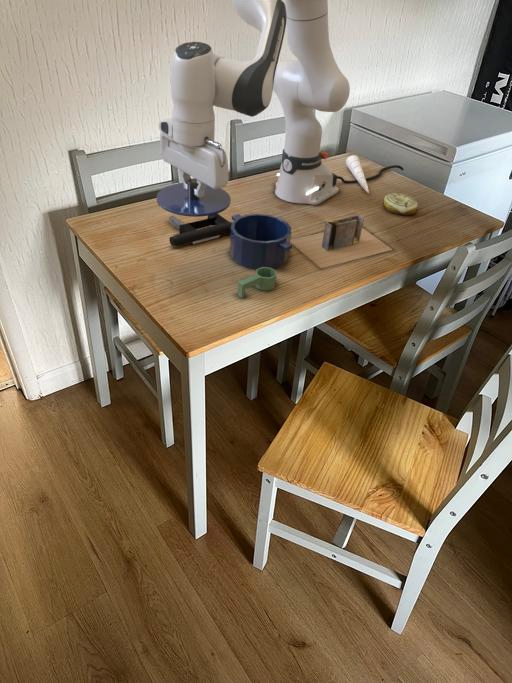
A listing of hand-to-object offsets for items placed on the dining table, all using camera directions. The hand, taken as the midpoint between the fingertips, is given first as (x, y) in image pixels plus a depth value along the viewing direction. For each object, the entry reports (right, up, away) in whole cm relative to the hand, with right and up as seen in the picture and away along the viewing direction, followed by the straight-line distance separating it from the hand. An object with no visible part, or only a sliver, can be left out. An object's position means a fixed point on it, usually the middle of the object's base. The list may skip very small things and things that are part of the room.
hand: (193, 192), depth 122 cm
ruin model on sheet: (+38, -6, +31) cm, 50 cm away
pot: (+15, -10, +24) cm, 30 cm away
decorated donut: (+60, +9, +52) cm, 80 cm away
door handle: (-4, -2, +32) cm, 32 cm away
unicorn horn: (+51, +24, +69) cm, 89 cm away
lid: (0, -1, +1) cm, 2 cm away
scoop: (+14, -21, +11) cm, 27 cm away
